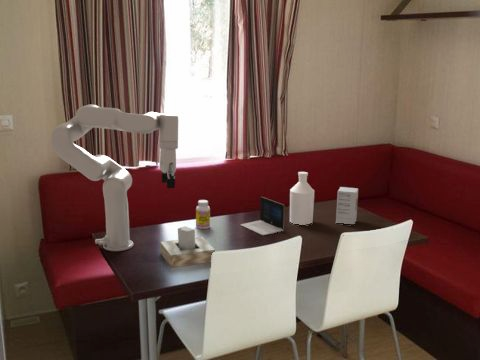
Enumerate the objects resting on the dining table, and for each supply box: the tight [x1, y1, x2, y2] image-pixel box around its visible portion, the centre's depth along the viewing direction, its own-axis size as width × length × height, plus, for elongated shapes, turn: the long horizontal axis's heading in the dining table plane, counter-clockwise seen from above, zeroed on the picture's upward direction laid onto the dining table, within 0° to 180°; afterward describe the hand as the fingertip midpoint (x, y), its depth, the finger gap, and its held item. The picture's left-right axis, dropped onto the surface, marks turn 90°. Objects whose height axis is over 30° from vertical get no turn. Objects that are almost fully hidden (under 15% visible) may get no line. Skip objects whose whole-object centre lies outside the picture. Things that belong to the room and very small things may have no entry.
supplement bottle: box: [195, 199, 211, 230], centre depth 253 cm, size 7×7×13 cm
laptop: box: [240, 196, 286, 236], centre depth 252 cm, size 18×13×13 cm
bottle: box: [289, 171, 315, 226], centre depth 261 cm, size 12×12×25 cm
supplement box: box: [335, 186, 359, 224], centre depth 263 cm, size 10×9×17 cm
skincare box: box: [177, 225, 196, 251], centre depth 216 cm, size 6×4×12 cm
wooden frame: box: [160, 236, 216, 268], centre depth 216 cm, size 18×16×5 cm
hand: (168, 185), depth 221 cm, fingers open, 9 cm apart
